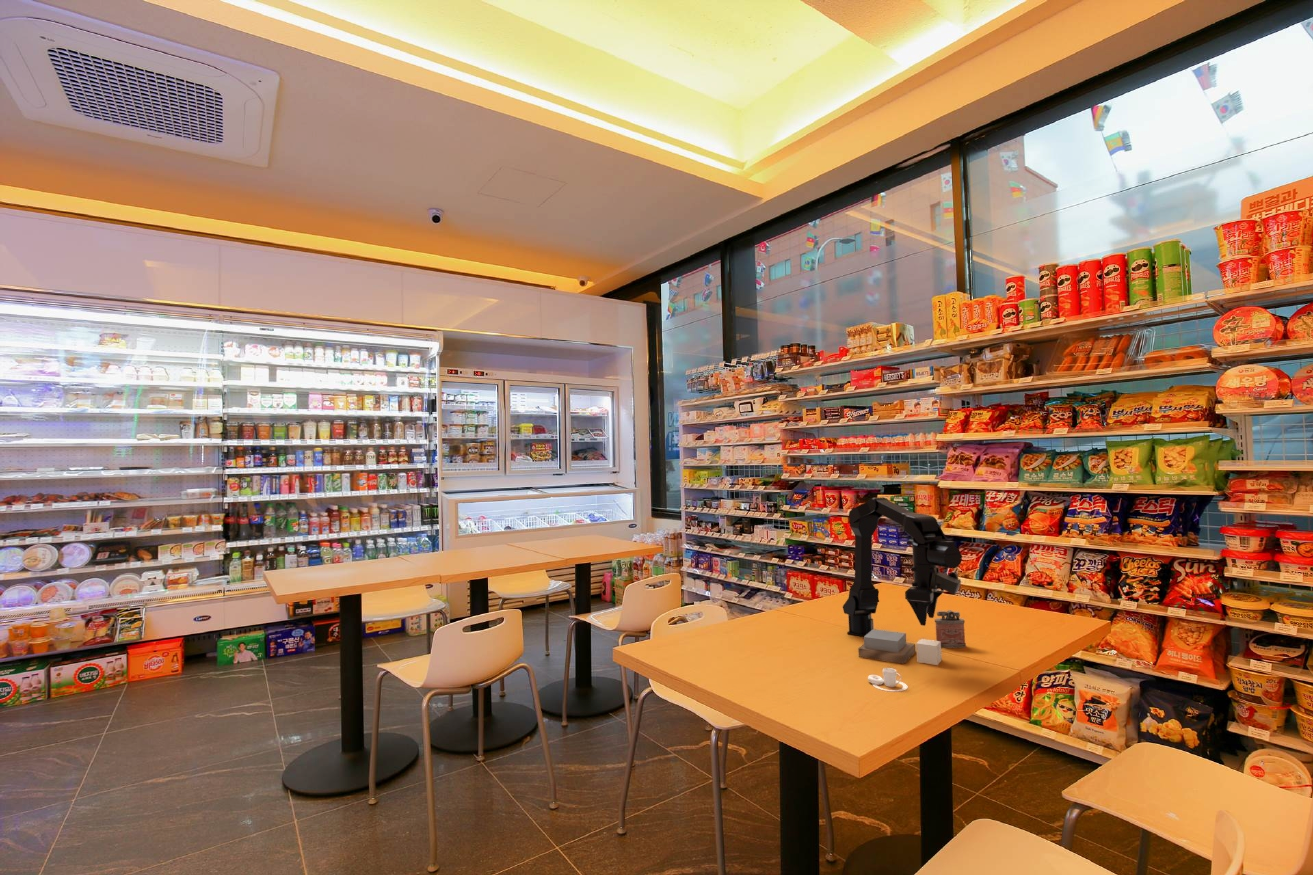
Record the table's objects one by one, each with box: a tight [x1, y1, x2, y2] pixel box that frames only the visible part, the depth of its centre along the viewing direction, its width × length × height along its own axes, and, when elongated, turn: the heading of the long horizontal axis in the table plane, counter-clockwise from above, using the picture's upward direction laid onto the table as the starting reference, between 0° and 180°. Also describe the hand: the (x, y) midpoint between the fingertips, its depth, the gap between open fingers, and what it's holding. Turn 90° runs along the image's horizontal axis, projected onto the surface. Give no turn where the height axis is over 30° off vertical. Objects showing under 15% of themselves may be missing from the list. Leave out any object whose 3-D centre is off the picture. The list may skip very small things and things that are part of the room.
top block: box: [863, 628, 907, 653], centre depth 171 cm, size 9×9×3 cm
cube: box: [915, 638, 942, 666], centre depth 164 cm, size 5×5×5 cm
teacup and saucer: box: [867, 667, 909, 693], centre depth 148 cm, size 9×8×4 cm
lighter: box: [934, 609, 967, 649], centre depth 177 cm, size 8×3×10 cm, turn 84°
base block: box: [857, 642, 917, 665], centre depth 171 cm, size 12×12×3 cm
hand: (927, 621), depth 165 cm, fingers open, 9 cm apart
